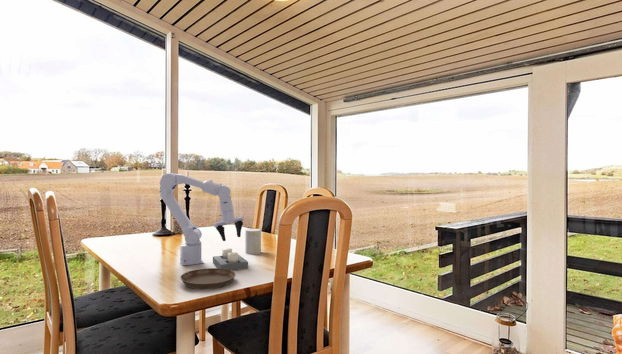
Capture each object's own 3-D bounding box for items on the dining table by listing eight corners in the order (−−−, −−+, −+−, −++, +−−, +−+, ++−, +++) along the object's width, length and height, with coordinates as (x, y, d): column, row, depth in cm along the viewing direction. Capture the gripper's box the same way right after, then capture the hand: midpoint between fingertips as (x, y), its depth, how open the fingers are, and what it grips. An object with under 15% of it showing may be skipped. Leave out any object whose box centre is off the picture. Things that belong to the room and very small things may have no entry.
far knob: (223, 259, 172) (223, 250, 171) (221, 257, 175) (221, 248, 175) (233, 258, 174) (233, 249, 173) (230, 256, 177) (230, 247, 177)
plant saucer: (244, 278, 152) (244, 269, 152) (218, 294, 132) (218, 285, 132) (200, 273, 158) (200, 266, 158) (168, 288, 138) (168, 279, 138)
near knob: (229, 264, 163) (229, 255, 163) (226, 261, 167) (226, 253, 166) (239, 263, 165) (239, 254, 165) (236, 260, 169) (236, 252, 168)
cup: (253, 254, 191) (253, 231, 191) (242, 252, 196) (242, 230, 196) (264, 252, 198) (264, 229, 198) (253, 250, 203) (253, 228, 202)
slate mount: (221, 271, 160) (221, 264, 160) (212, 263, 175) (212, 256, 175) (248, 268, 166) (248, 261, 165) (237, 260, 180) (237, 254, 180)
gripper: (215, 214, 170) (220, 243, 170) (244, 208, 178) (249, 235, 179) (210, 213, 175) (214, 241, 176) (238, 207, 184) (242, 234, 184)
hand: (231, 238), depth 178 cm, fingers open, 7 cm apart
